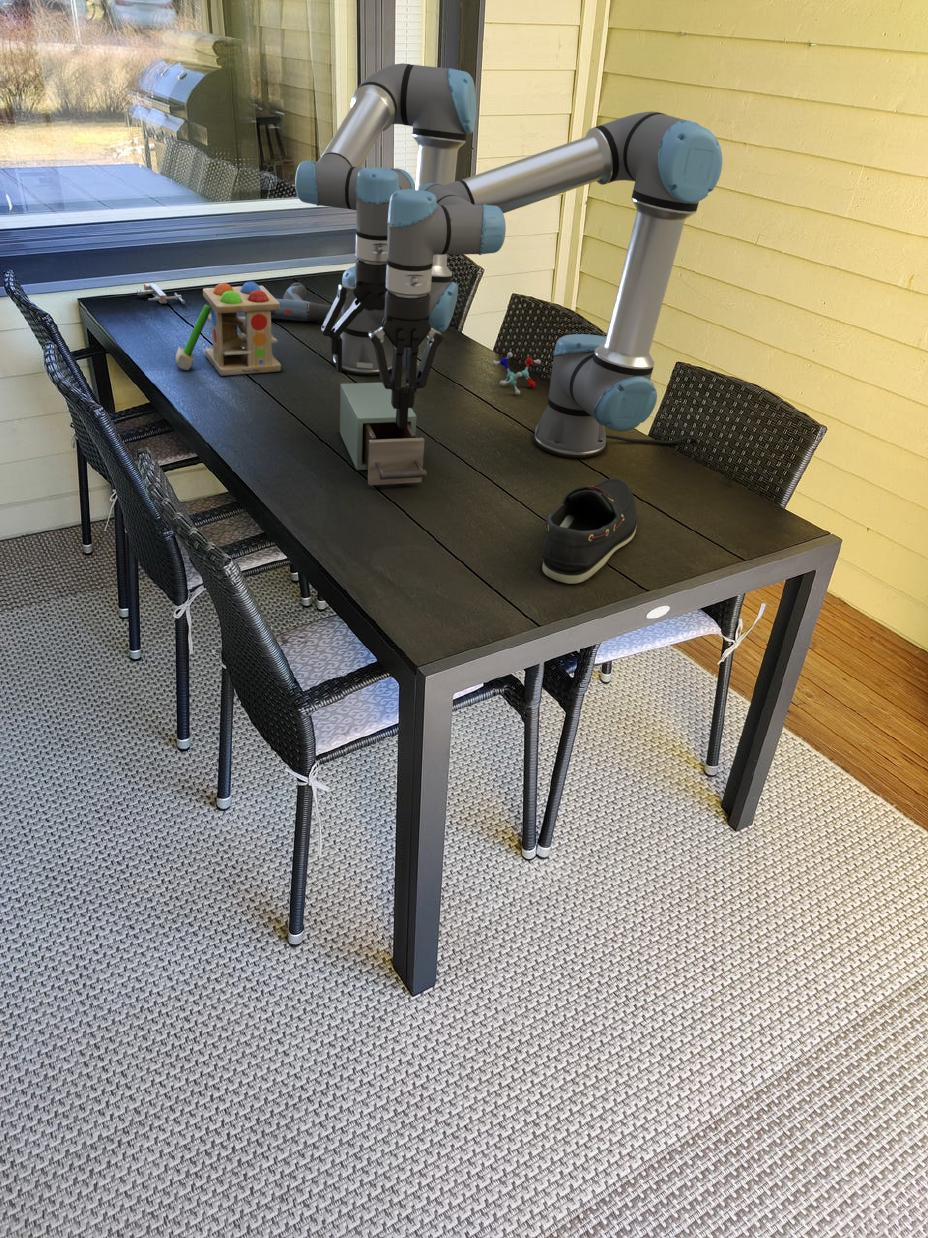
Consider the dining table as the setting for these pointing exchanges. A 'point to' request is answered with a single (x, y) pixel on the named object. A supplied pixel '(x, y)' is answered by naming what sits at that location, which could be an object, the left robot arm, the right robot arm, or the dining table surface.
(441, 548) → the dining table surface
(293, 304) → the power drill
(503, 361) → the molecular model
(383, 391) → the cabinet
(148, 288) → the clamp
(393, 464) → the drawer
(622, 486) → the boat shoe
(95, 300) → the dining table surface
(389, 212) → the right robot arm
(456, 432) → the dining table surface
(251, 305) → the pounding bench toy
